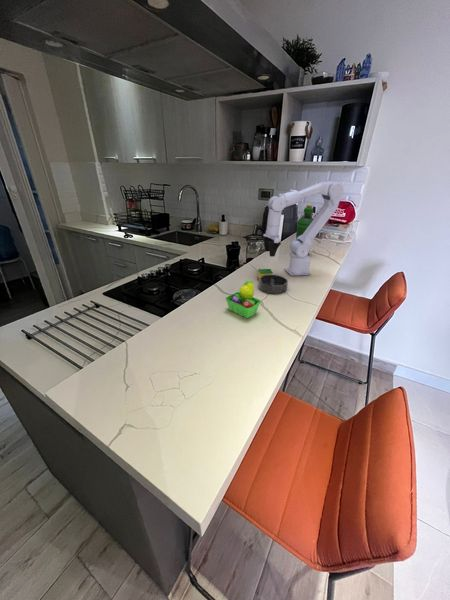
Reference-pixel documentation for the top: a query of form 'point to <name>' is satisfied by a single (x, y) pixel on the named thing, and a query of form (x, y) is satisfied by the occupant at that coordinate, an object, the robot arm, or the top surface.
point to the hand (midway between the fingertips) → (269, 253)
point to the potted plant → (304, 221)
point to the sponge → (264, 272)
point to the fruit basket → (244, 301)
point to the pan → (273, 284)
